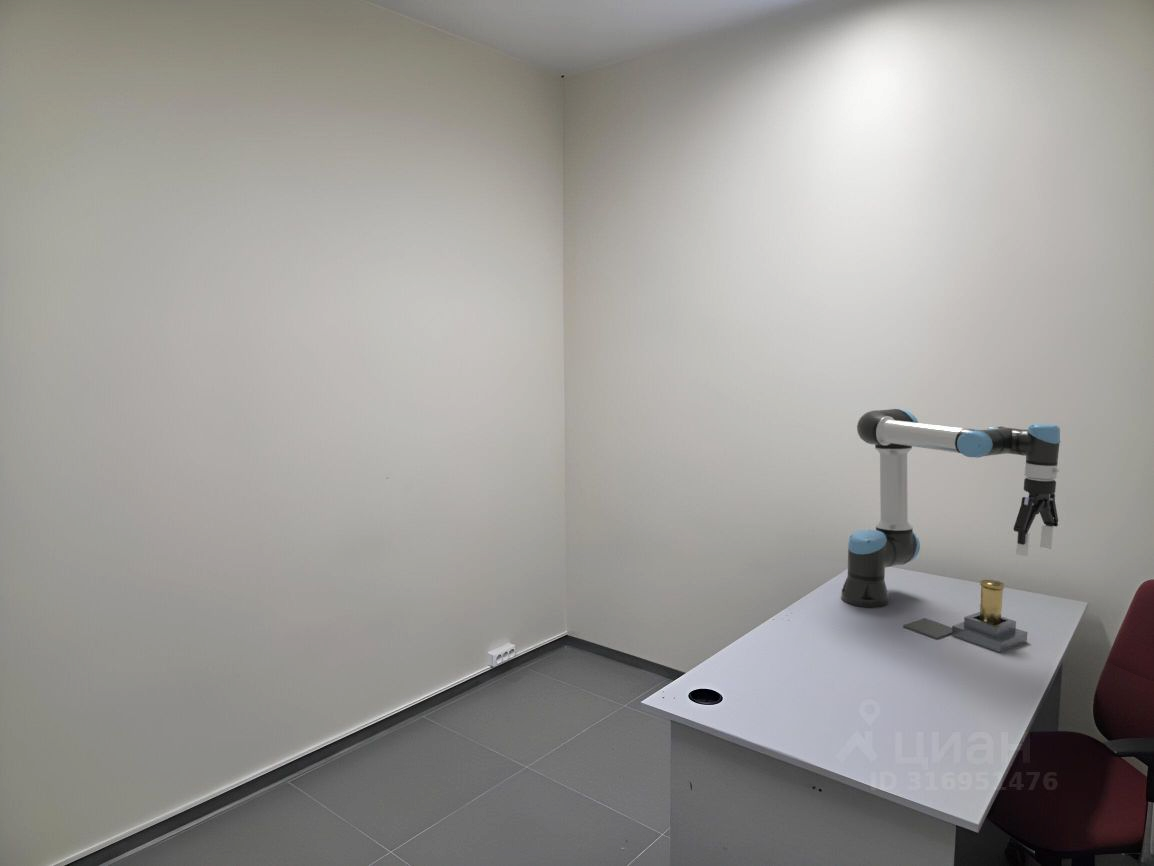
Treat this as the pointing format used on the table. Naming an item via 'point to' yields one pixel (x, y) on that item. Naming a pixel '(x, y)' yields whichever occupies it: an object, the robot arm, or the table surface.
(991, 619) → the brass flared knob
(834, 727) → the table surface
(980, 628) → the housing
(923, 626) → the mat
